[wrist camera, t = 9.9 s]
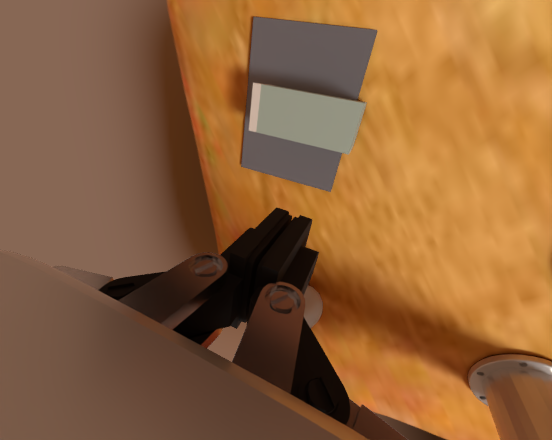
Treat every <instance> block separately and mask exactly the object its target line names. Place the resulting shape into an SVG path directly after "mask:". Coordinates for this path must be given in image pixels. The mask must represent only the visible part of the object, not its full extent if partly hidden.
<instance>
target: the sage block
mask: <svg viewBox="0 0 552 440" xmlns="http://www.w3.org/2000/svg"><path fill="white" fill-rule="evenodd" d="M366 104H367V102H361V101H356V100H351V99H345V98H340V97H334V96H329V95H323V94H318V93H312V92H307V91H301V90H296V89H290V88H285V87H280V86H274V85H268V84H260V83H253V88H252V99H251V110H250V122H249V131H253V132H257V133H261V134H266V135H270V136H274V137H278V138H282V139H286V140H291V141H295V142H299V143H303V144H307V145H311V146H316V147H320V148H324V149H328V150H332V151H336V152H341V153H345V154H349V153H350V152H351V150H352V148H353V146H354V142H355V139H356V136H357V133H358V129H359V126H360V123H361V120H362V117H363V113H364V110H365V107H366Z"/></svg>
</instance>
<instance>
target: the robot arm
mask: <svg viewBox="0 0 552 440" xmlns="http://www.w3.org/2000/svg"><path fill="white" fill-rule="evenodd" d="M291 220H292V216H291V215H289V212H288V211H286V210H283V209H280V208H276V209H275V210H274V211H273V212H272V213H270V214H269V215H268V216H267V217H266V218H265V219H264V220H263V221H262V222H261V223H260V224H259V225H258V226H257V227H256V228H255V229H253V228H249V229H248V230H247V231H246V232H245V233H244V234H242V235H241V236H240V237H239V238H238V239H237V240H236V241H235V242H234V243H233V244H232V245H231V246H229V247H228V248H227V249H226V250H225V251H224V252H223V253H222V254H221V255H218V254H216V253H209V252H207V253H199V254H196V255H194V256H191V257H190V258H188V259H186V260H185V261H183V262H181V263H180V264H178V265H176V266H175V267H173V268H171V269H170V270H168V271H166V272H160V273H152V274H145V275H138V276H131V277H124V278H119V279H116V280H113V277H109V276H104V275H100V274H95V273H92V272H87V271H83V270H78V269H74V268H70V267H64V266H54V267H51V266H49V265H47V264H45V263H43V262H40V261H38V260H36V259H33V258H30V257H27V256H24V255H21V254H18V253H14V252H10V251H5V250H1V249H0V440H408V439H406V438H405V437H404V436H403V435H401V434H400V433H399V432H397V431H396V430H395V429H394V428H392V427H391V426H390V425H388V424H387V423H386V422H385V421H383V420H382V419H381V418H379V417H378V416H377V415H376V414H374V413H373V412H372V411H371V410H369V409H368V408H367V407H365V406H364V405H363V404H362V405H361V407H359V406H358V405H357V404H355V403H354V402H353V401H352V400H350V399H349V397H348V395H347V392H346V390H345V388H344V386H343V384H342V382H341V381H340V379H339V377H338V375H337V374H336V372H335V370H334V368H333V367H332V365H331V363H330V361H329V360H328V358H327V356H326V355H325V353H324V351H323V349H322V348H321V346H320V344H319V342H318V341H317V339H316V337H315V335H314V334H313V332H312V330H311V328H310V327H309V325H308V323H307V321H306V320H305V318H304V311H305V298H304V294H305V291H306V289H307V286H308V284H309V281H310V279H311V276H312V273H313V270H314V267H315V264H316V261H317V257H318V254H319V252H317V251H314V250H312V249H309V248H306V247H305V246H306V243H307V239H308V235H309V231H310V228H311V224H312V219H310V218H307V217H304V216H301V215H300V216H299V218H297V217H294V218H293V220H292V221H291ZM241 322H247V327H246V329H245V332H244V334H243V336H242V339H241V341H240V344H239V346H238V349H237V351H236V353H235V356H234V358H233V361H232V362H230V361H229V360H227V359H225V358H223V357H221V356H219V355H218V354H216V353H214V352H212V351H210V350H208V349H207V348H208V347H209V346H210V345H211V344H212V343H213V342H214V341H215V340H216V338H217V337H218V336H219V335H220V333H221V332H222V329H223V328H225V327H229V326H232V327H234V328H236V329H237V328H238V326H239V325H240V323H241ZM468 382H469V385H470V388H471V390H472V392H473V394H474V395H475V396H476V397H477V398H478V399H479V400H480V401H482V402H483V403H484V404H486V405H487V406H489V409H490V411H491V414H492V417H493V420H494V423H495V425H496V428H497V431H498V434H499V437H500V440H552V362H551V361H549V360H546V359H542V358H538V357H534V356H528V355H519V354H505V355H497V356H491V357H488V358H485V359H483V360H481V361H479V362H477V363H476V364H474V365H473V366H472V367H471V369H470V370H469V372H468Z"/></svg>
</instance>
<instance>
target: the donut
mask: <svg viewBox="0 0 552 440" xmlns="http://www.w3.org/2000/svg"><path fill="white" fill-rule="evenodd" d="M304 298H305V311H304V318H305V320H306V321H307V323H308V325H309V327H310V328H312V327H313V326H314V325H315V324H316V323H317V322H318V320H319V319H320V316H321V314H322V310H323V302H322V299H321V297H320V294H319V293H318V292H317V291H316V290H315V289H314V288H313V287H311V286H309V285H308V286H307V289H306V291H305V294H304Z"/></svg>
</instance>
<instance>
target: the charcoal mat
mask: <svg viewBox="0 0 552 440" xmlns="http://www.w3.org/2000/svg"><path fill="white" fill-rule="evenodd" d="M376 34H377V30H372V29H363V28H353V27H344V26H335V25H326V24H317V23H307V22H298V21H289V20H280V19H270V18H261V17H253V29H252V42H251V54H250V66H249V78H248V91H247V103H246V115H245V128H244V140H243V152H242V164H241V167H244V168H248V169H251V170H255V171H258V172H262V173H266V174H269V175H273V176H276V177H280V178H283V179H287V180H290V181H294V182H297V183H301V184H304V185H308V186H311V187H315V188H319V189H322V190H326V191H329V192H331V189H332V186H333V182H334V179H335V175H336V172H337V169H338V165H339V162H340V158H341V155H342V153H341V152H336V151H332V150H328V149H324V148H320V147H316V146H311V145H307V144H303V143H299V142H295V141H291V140H286V139H282V138H278V137H274V136H270V135H266V134H261V133H257V132H253V131H249V122H250V110H251V99H252V88H253V83H260V84H268V85H274V86H280V87H285V88H290V89H296V90H301V91H307V92H312V93H318V94H323V95H329V96H334V97H340V98H345V99H351V100H356V101H357V100H358V96H359V93H360V89H361V86H362V82H363V79H364V75H365V72H366V69H367V65H368V62H369V58H370V55H371V51H372V48H373V44H374V41H375V38H376Z"/></svg>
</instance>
